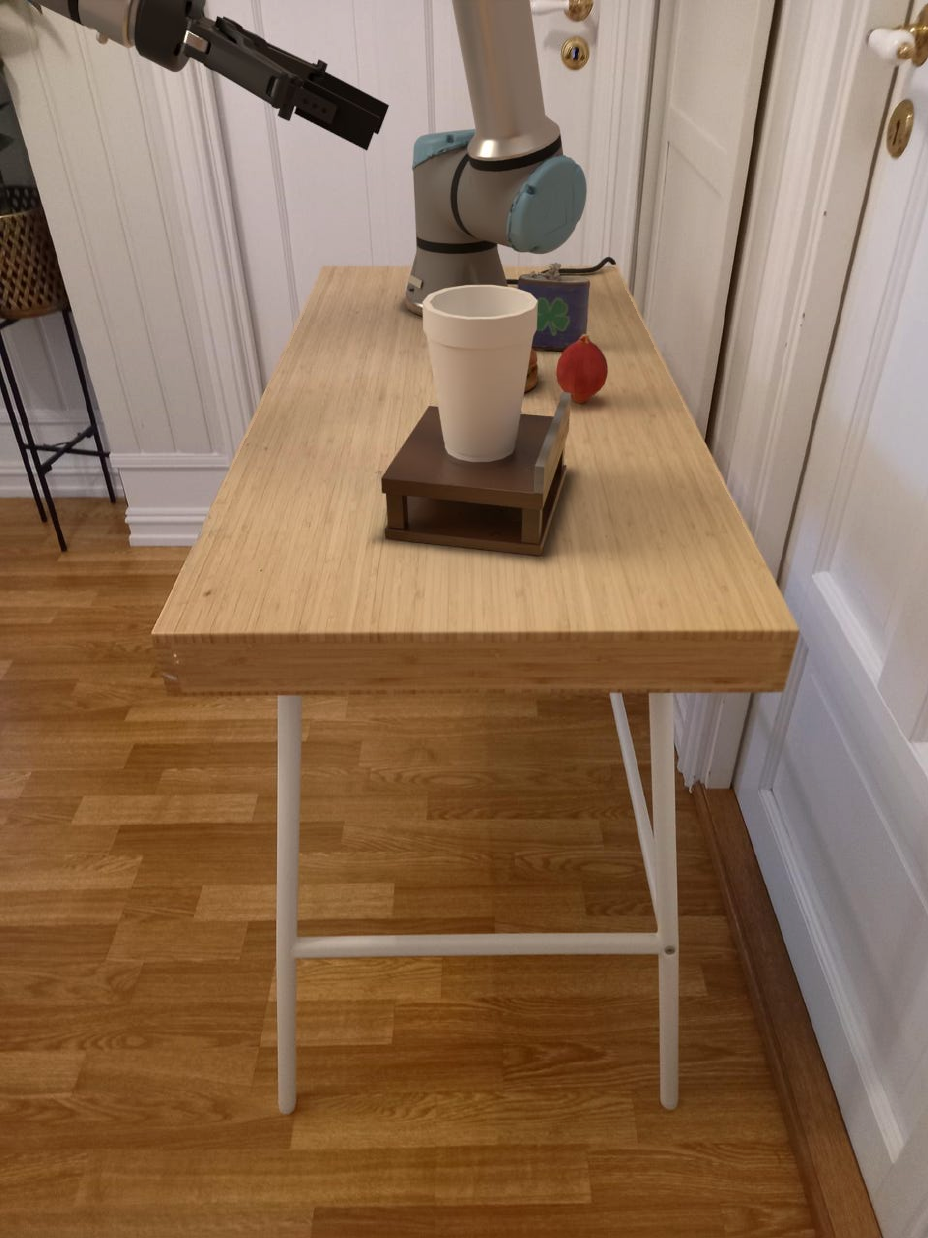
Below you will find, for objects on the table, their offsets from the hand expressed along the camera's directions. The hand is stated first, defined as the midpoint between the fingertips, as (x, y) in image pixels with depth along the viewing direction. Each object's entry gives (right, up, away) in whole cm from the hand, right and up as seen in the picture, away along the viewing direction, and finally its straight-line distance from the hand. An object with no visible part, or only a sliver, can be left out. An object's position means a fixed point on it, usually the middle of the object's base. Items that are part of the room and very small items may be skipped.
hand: (379, 126), depth 84 cm
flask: (+19, -9, +39) cm, 44 cm away
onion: (+21, -20, +24) cm, 37 cm away
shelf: (+9, -34, +4) cm, 35 cm away
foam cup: (+9, -29, 0) cm, 30 cm away
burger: (+12, -16, +29) cm, 35 cm away
